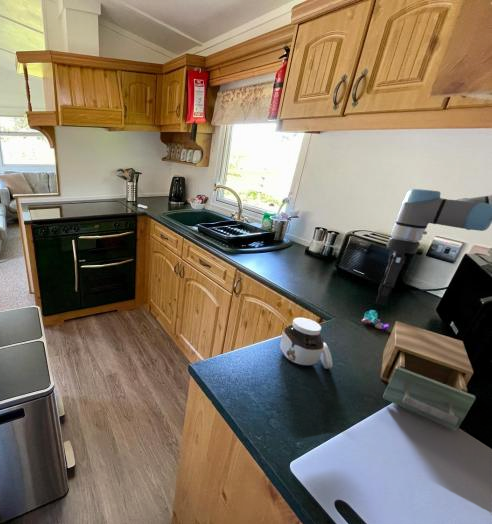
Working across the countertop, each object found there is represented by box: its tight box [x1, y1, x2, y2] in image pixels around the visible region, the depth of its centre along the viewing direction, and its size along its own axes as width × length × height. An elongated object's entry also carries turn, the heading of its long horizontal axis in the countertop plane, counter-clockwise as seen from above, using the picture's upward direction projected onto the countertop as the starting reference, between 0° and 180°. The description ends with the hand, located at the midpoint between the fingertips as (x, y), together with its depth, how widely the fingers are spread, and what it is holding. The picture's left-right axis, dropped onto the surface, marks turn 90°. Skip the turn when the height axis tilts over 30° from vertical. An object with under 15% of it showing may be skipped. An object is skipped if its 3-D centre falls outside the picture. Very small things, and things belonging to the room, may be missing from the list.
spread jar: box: [279, 317, 334, 370], centre depth 80 cm, size 12×11×12 cm
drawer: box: [382, 350, 476, 432], centre depth 67 cm, size 22×13×9 cm, turn 139°
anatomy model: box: [361, 309, 390, 330], centre depth 103 cm, size 5×8×7 cm
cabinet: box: [380, 320, 474, 386], centre depth 77 cm, size 17×14×11 cm
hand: (381, 298), depth 100 cm, fingers open, 13 cm apart
